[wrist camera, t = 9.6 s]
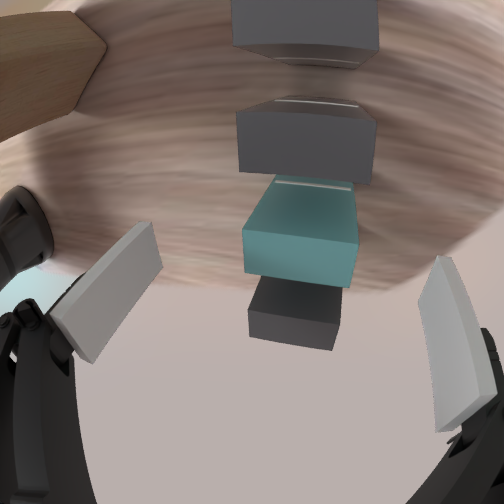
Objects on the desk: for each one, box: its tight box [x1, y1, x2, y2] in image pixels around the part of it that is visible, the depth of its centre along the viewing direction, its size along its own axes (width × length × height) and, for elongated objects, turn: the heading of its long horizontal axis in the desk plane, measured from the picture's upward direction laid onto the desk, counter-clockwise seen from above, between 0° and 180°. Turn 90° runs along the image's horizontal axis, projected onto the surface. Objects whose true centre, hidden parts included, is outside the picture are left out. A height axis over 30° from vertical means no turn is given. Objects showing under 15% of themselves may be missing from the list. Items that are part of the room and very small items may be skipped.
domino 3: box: [242, 175, 359, 288], centre depth 17 cm, size 5×2×12 cm, turn 92°
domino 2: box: [236, 96, 377, 185], centre depth 14 cm, size 5×2×12 cm, turn 92°
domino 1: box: [231, 0, 379, 69], centre depth 11 cm, size 5×2×12 cm, turn 92°
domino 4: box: [248, 276, 342, 351], centre depth 20 cm, size 5×2×12 cm, turn 92°
